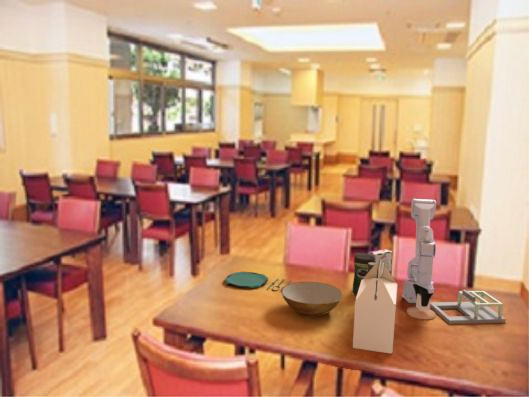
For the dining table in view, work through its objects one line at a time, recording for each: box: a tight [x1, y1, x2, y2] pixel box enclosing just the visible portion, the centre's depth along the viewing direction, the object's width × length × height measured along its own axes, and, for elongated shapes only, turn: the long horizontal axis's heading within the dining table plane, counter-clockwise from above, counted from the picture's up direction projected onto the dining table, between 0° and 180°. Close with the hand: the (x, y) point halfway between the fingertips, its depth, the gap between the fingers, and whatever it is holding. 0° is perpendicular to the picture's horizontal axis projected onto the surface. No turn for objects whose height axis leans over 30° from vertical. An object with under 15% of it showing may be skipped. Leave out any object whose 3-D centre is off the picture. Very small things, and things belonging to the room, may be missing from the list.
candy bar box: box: [367, 248, 393, 275], centre depth 228 cm, size 11×5×16 cm, turn 119°
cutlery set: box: [224, 271, 292, 292], centre depth 228 cm, size 20×30×2 cm, turn 70°
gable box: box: [352, 257, 398, 354], centre depth 173 cm, size 22×13×28 cm, turn 164°
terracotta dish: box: [406, 306, 437, 321], centre depth 197 cm, size 11×11×1 cm
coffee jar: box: [351, 252, 376, 296], centre depth 216 cm, size 10×8×19 cm
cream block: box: [415, 294, 432, 311], centre depth 196 cm, size 4×4×6 cm
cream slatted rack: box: [457, 289, 504, 317], centre depth 198 cm, size 11×14×7 cm
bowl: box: [280, 281, 344, 317], centre depth 197 cm, size 25×25×8 cm
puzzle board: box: [430, 300, 507, 325], centre depth 198 cm, size 23×18×2 cm
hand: (421, 303), depth 196 cm, fingers closed on cream block, 4 cm apart
